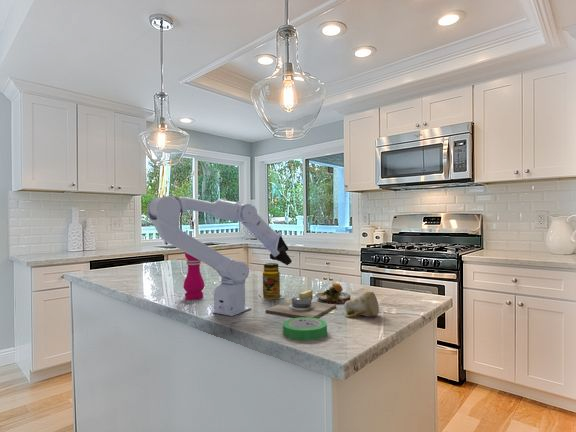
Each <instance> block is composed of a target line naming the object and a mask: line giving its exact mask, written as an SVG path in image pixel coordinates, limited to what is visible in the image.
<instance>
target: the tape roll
mask: <svg viewBox="0 0 576 432" xmlns="http://www.w3.org/2000/svg"><path fill="white" fill-rule="evenodd" d="M282 333H283V336H285V337H286V338H289V339H292V340H297V341H314V340H319V339H322V338H325V337H326V336H327V335H328V324H327V322H326V320H324V319H322V318H319V317H318V318H312V317H299V318H295V317H292V318H290V319H287V320H286V319H285V321H284V322H283V323H282Z"/></svg>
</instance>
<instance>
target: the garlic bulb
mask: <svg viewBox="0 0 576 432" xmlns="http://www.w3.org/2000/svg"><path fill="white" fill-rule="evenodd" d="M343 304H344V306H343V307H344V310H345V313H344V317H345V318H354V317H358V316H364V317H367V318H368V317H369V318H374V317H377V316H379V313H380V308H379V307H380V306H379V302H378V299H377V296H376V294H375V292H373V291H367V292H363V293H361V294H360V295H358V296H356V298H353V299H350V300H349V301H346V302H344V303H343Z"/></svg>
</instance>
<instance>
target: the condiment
mask: <svg viewBox="0 0 576 432" xmlns="http://www.w3.org/2000/svg"><path fill="white" fill-rule="evenodd" d="M279 269H280V268H279V263H277V262H269V263H268V262H267V263H263V272H262V294H259V296H260V297H261V299H262V300H264V301H267V300H278V299H285V297H283V296H282V294H281V277H280V274H281V273H280V272H281V271H279Z"/></svg>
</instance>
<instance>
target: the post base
mask: <svg viewBox="0 0 576 432" xmlns="http://www.w3.org/2000/svg"><path fill="white" fill-rule="evenodd" d="M335 308H337V305H336V304H334V303H333V304H328V303H327V302H319V301H311V306H310V307H304V308H299V307H294V306H292V298H291V299H289V300H287V301H286V300H285V301H284V302H281V303H279V304H277V305H274V306H272V307H269V308H268V309H265V313H267V314H273V315H278V316H283V317H291V318H299V317H312V318H318V319H319V318H320V317H321V316H323V315H324V314H326V313H328V312H331V311H333V310H334V309H335Z"/></svg>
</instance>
